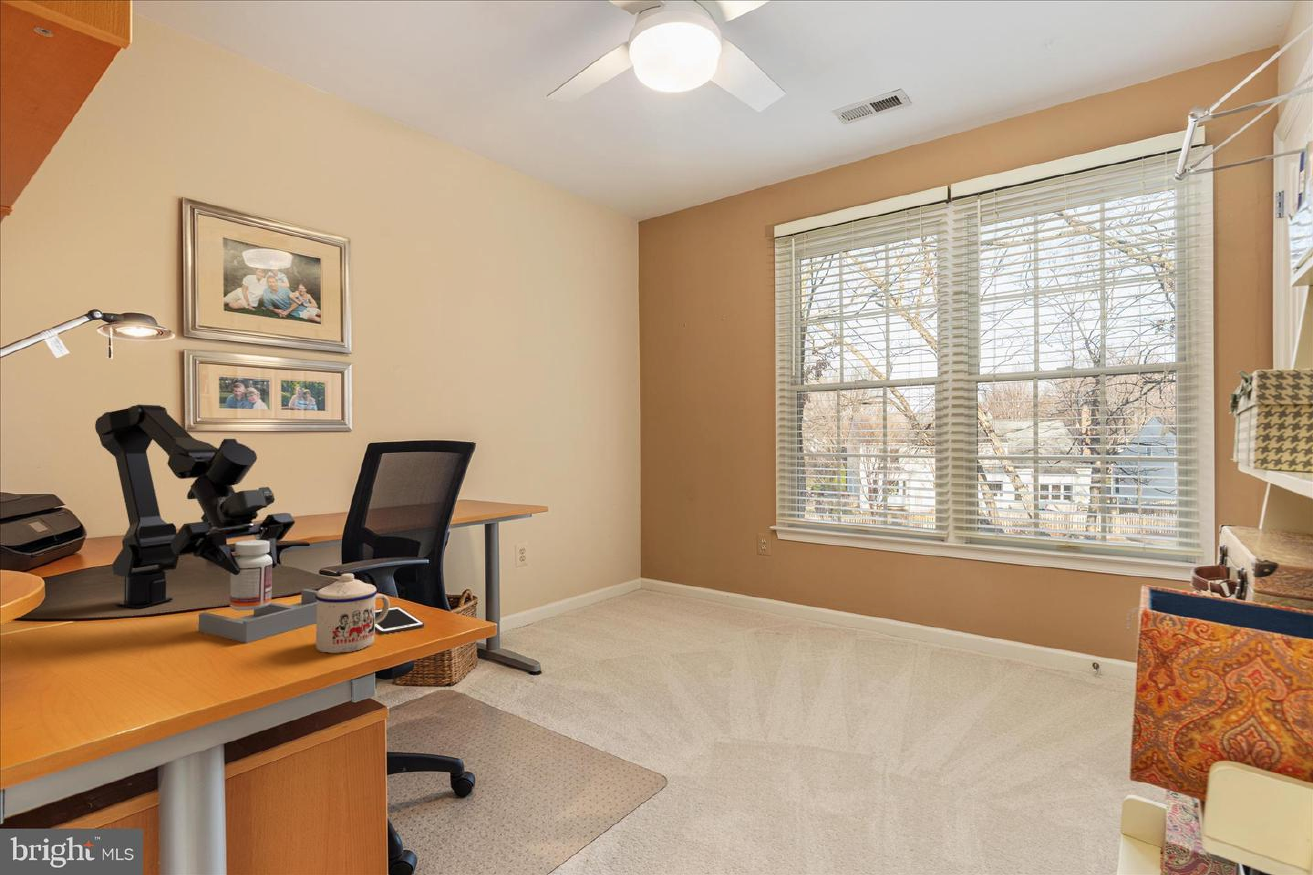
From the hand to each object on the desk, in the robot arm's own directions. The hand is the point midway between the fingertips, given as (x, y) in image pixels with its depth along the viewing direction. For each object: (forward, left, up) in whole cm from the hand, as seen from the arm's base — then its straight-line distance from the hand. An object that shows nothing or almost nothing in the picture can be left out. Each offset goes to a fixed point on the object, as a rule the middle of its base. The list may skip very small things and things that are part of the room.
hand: (256, 569), depth 109 cm
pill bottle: (-1, 0, -7) cm, 7 cm away
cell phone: (+19, +11, -11) cm, 25 cm away
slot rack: (0, +5, -10) cm, 11 cm away
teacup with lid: (+21, -1, -11) cm, 23 cm away
